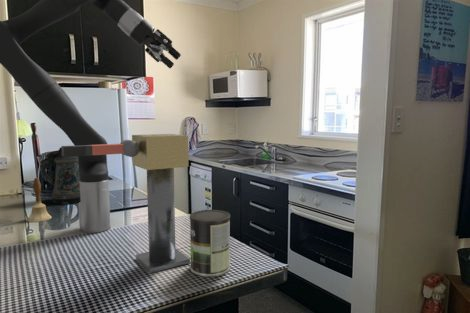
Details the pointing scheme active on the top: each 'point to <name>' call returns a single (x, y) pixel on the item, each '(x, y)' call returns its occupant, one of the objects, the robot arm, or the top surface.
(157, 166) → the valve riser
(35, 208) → the hand bell
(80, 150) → the lever
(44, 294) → the top surface
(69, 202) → the beer stein
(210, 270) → the coffee can
